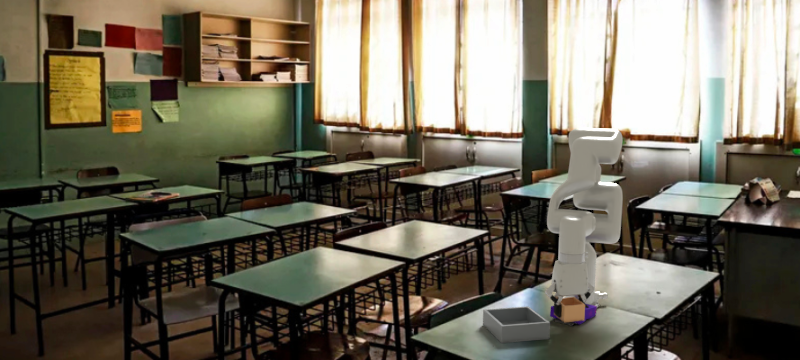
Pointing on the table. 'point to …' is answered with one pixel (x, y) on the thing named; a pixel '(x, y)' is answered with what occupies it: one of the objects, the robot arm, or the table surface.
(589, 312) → the handheld gaming console
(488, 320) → the grey square tray
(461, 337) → the table surface
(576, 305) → the orange crate
